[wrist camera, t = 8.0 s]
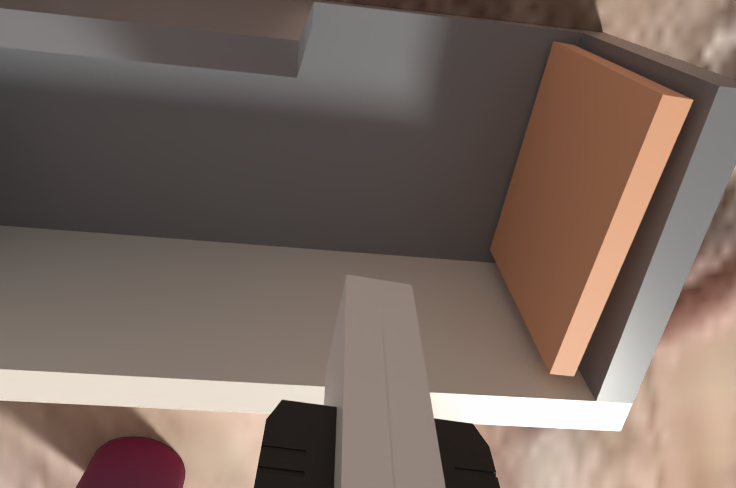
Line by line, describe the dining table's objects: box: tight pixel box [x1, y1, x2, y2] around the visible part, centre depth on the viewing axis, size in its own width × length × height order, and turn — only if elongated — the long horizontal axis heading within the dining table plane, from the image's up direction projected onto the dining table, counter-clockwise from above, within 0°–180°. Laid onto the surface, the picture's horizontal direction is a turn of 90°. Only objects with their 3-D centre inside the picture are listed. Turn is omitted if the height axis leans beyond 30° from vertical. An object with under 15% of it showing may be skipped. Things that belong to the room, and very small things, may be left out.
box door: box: [490, 41, 693, 376], centre depth 19 cm, size 9×1×8 cm, turn 171°
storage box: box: [0, 0, 736, 431], centre depth 19 cm, size 26×11×10 cm, turn 84°
